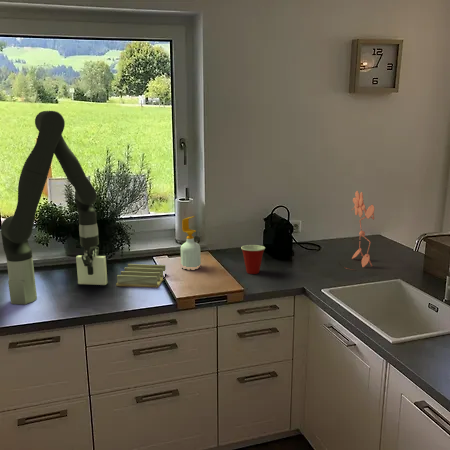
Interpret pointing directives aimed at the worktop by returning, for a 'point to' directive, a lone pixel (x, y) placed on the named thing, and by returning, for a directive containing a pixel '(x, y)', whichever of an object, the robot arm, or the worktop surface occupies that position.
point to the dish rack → (141, 275)
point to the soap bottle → (190, 247)
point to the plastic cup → (253, 257)
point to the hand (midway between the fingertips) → (92, 273)
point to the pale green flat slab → (98, 271)
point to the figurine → (368, 213)
